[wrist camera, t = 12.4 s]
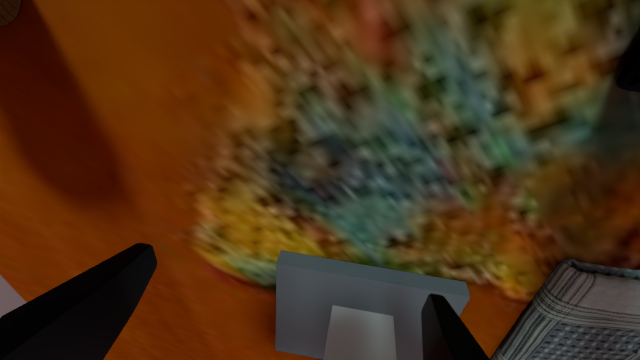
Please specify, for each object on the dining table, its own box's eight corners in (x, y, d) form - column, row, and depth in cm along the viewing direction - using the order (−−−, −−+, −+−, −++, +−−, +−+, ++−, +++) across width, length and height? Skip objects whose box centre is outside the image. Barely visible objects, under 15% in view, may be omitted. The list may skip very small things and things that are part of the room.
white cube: (393, 315, 27) (398, 383, 22) (381, 348, 30) (383, 413, 25) (332, 305, 27) (325, 369, 22) (326, 338, 30) (318, 400, 25)
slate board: (465, 281, 25) (470, 297, 24) (420, 363, 33) (422, 378, 32) (281, 250, 26) (276, 263, 25) (278, 337, 34) (275, 350, 33)
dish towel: (477, 365, 33) (487, 399, 30) (557, 249, 23) (582, 283, 20) (661, 396, 31) (689, 434, 28) (831, 285, 21) (898, 327, 19)
